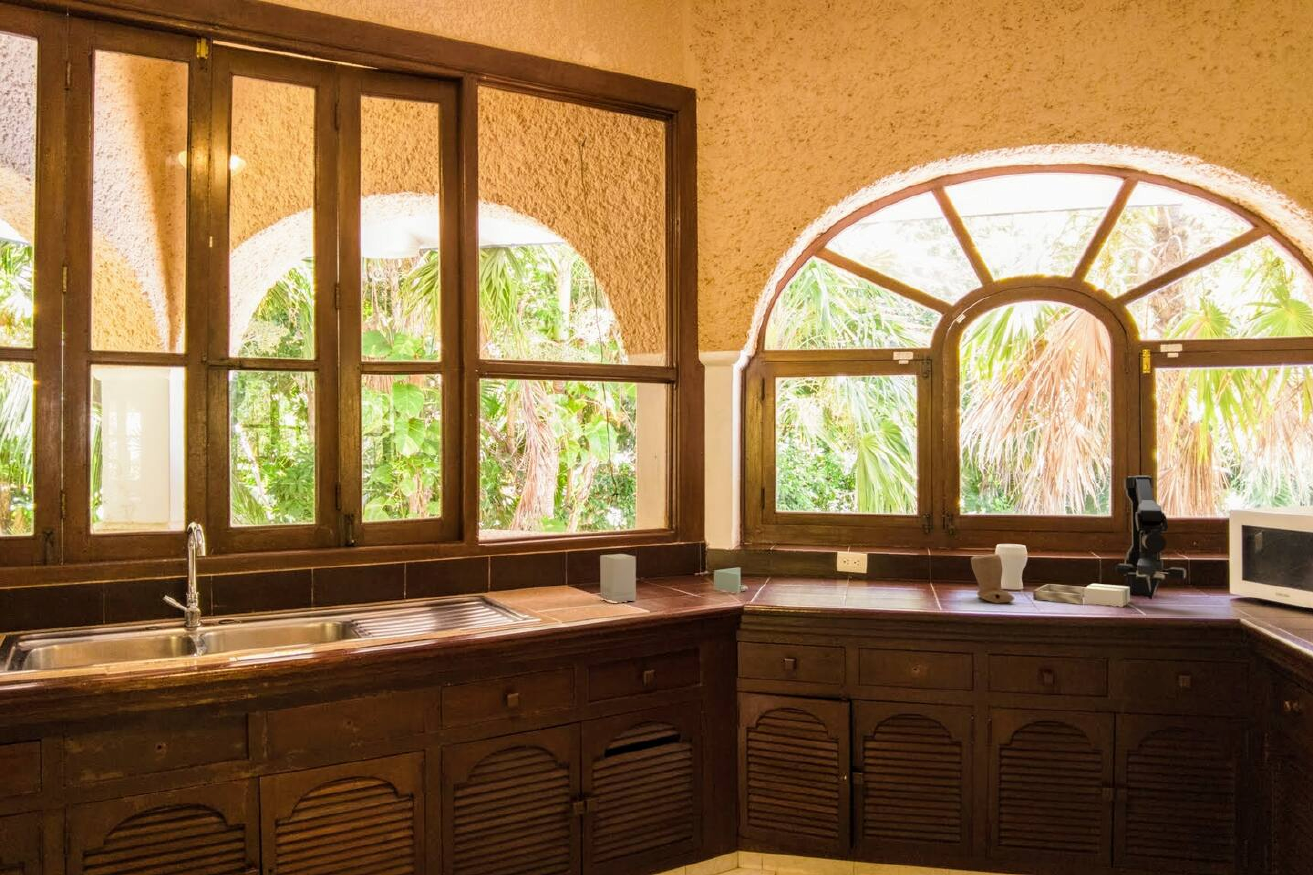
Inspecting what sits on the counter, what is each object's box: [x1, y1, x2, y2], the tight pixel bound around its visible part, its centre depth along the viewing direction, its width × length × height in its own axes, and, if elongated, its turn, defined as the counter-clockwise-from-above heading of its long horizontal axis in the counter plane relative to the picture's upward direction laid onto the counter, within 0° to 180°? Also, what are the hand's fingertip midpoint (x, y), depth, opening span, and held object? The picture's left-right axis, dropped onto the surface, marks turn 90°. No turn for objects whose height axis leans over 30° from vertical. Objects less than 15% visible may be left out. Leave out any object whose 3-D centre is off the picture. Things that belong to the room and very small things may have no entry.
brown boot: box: [970, 553, 1015, 604], centre depth 291 cm, size 15×12×15 cm
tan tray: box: [1032, 583, 1085, 605], centre depth 293 cm, size 15×17×3 cm
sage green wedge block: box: [713, 567, 749, 594], centre depth 313 cm, size 12×12×8 cm
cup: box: [994, 543, 1028, 591], centre depth 315 cm, size 11×11×15 cm
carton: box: [1083, 583, 1131, 608], centre depth 285 cm, size 11×11×5 cm
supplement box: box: [599, 553, 637, 601], centre depth 293 cm, size 9×9×15 cm
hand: (1150, 598), depth 278 cm, fingers closed
